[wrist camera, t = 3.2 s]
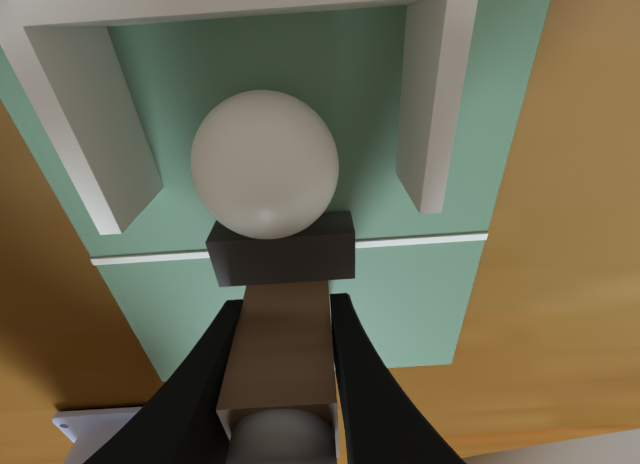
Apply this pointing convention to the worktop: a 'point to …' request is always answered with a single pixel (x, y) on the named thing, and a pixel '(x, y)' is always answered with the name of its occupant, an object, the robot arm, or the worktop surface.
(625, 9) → the worktop surface
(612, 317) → the worktop surface
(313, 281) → the kicker
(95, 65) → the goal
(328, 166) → the ball
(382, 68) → the board
